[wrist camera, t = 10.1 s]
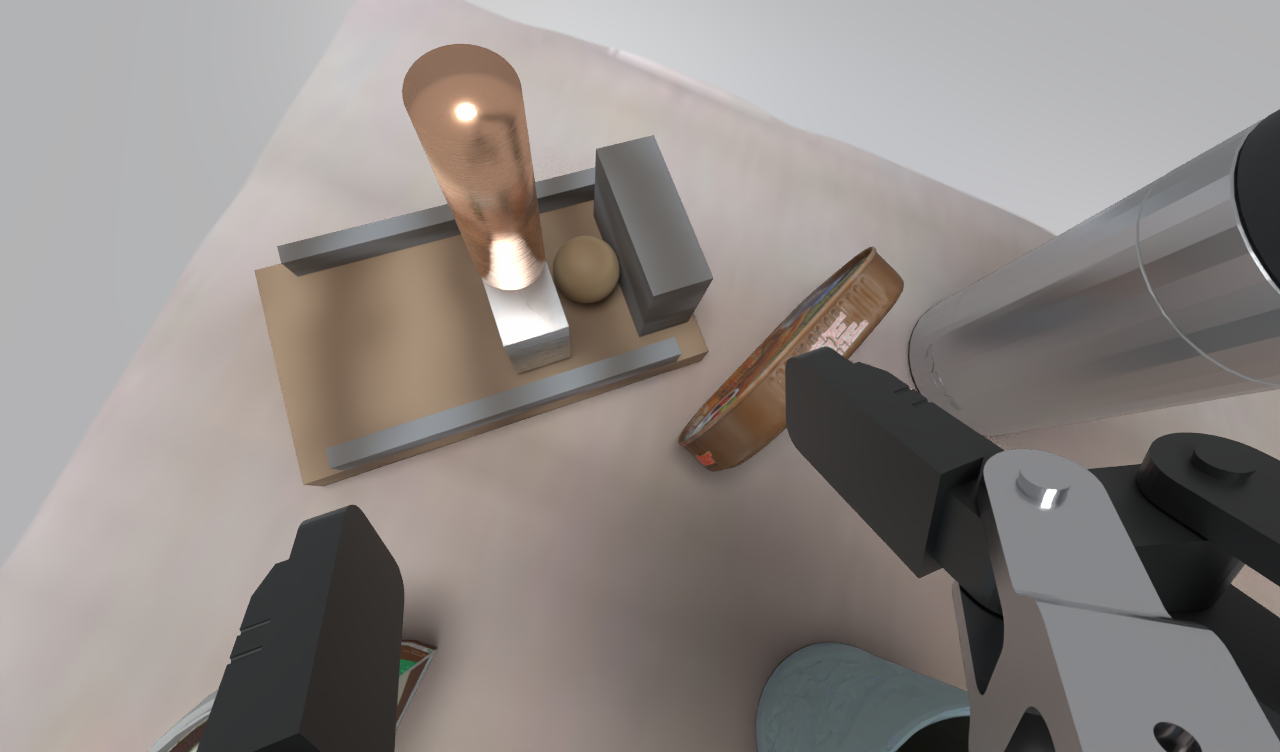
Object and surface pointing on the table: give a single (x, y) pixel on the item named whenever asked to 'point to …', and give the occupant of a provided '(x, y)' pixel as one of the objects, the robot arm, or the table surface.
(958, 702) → the teal cup
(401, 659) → the food container
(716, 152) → the table surface
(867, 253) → the tin
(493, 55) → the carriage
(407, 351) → the railed wooden base
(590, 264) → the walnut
